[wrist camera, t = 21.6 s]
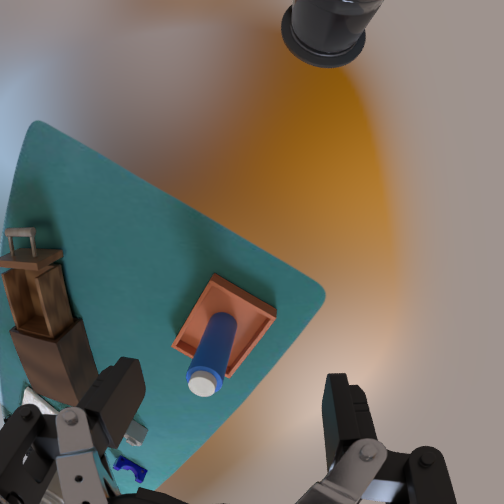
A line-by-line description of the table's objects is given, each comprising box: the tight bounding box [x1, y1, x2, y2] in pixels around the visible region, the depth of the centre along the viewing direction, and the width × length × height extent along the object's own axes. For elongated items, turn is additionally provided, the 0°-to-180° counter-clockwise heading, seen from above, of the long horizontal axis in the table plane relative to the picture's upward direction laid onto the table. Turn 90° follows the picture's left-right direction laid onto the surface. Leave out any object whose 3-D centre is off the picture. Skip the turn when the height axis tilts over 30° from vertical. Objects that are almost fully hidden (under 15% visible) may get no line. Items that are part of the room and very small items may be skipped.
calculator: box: [22, 387, 59, 415], centre depth 60 cm, size 13×20×2 cm, turn 143°
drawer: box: [0, 227, 74, 340], centre depth 42 cm, size 18×11×7 cm, turn 0°
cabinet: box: [9, 317, 99, 407], centre depth 47 cm, size 15×13×9 cm
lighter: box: [124, 420, 148, 446], centre depth 52 cm, size 7×2×8 cm, turn 49°
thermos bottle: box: [40, 470, 64, 504], centre depth 46 cm, size 8×8×28 cm
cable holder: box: [113, 455, 147, 483], centre depth 60 cm, size 8×4×4 cm, turn 53°
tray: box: [171, 273, 277, 378], centre depth 44 cm, size 13×10×3 cm
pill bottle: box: [186, 312, 237, 397], centre depth 38 cm, size 4×4×14 cm
